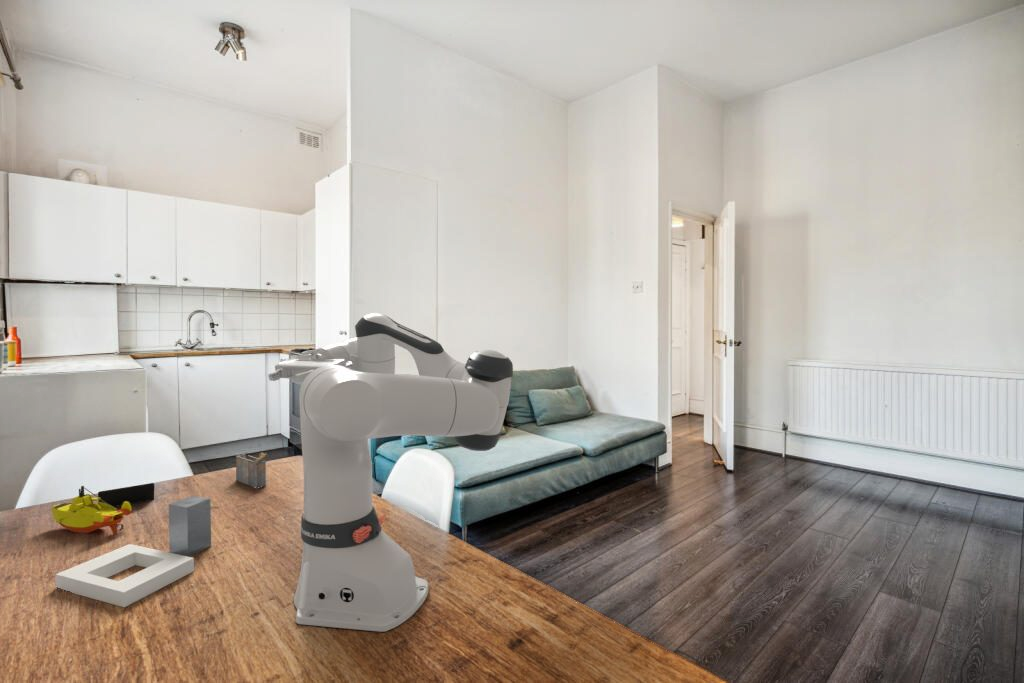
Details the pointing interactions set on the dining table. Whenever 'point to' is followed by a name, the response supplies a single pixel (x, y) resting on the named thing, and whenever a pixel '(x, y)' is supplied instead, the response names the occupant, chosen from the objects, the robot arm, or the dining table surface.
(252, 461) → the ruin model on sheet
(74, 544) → the dining table surface
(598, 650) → the dining table surface
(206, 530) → the grey metal block
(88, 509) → the toy boat
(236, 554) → the dining table surface
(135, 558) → the white rectangular frame
